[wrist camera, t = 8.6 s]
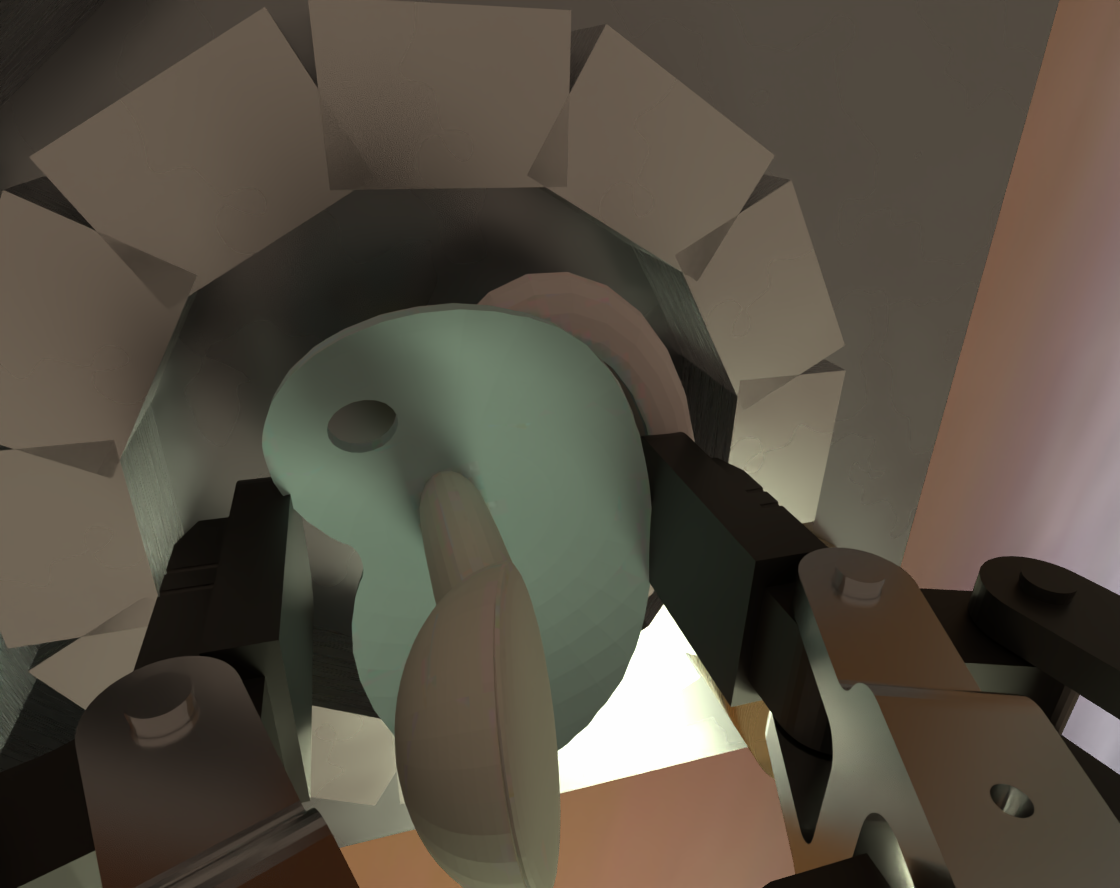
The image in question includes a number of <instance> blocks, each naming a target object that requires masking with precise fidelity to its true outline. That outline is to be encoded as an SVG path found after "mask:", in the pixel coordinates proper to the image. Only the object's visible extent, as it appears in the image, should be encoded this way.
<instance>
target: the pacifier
mask: <svg viewBox="0 0 1120 888" xmlns="http://www.w3.org/2000/svg"><path fill="white" fill-rule="evenodd" d="M597 356H598V357H599V358H600V359H602V360H603V361H604V363H605V364H606V365H607V367H608V368H609V369H610V371H611V372H612V373H613V375H614V376H615V377H616V379H617V380H618V381H619V383H620V385H621V388H622V390H623V392H624V394H625V396H626V397H625V396H624V394H623V392H622V391H621V389H620V387H619V386H618V384H617V383H616V381H615V379H614V378H613V376H612V374H611V373H610V371H609V369H608V368H607V367H606V366H605V365H604V364H603V363H602V362H601V361H600V359H599V358H598V357H597ZM626 399H627V400H626ZM362 400H377V401H380V402H383V403H386V404H387V405H388V406H390V407H391V408H392V409H393V410H394V412H395V413H396V417H395V420H394V423H393V425H392V426H391V428H390V429H389V431H387V432H386V433H385V434H384V435H382V436H381V437H379V438H377V439H375V440H373V441H370V442H365V443H349V442H345V441H342V440H340V439H338V438H337V437H335V436H334V435H333V434H332V433H331V431H330V430H329V429H328V422H329V420H330V419H331V417H332V416H333V414H334V413H336V412H337V411H338V410H339V409H341V408H342V407H344V406H346V405H348V404H350V403H352V402H357V401H362ZM627 401H628V402H627ZM628 403H629V405H630V407H631V410H632V412H633V415H634V418H633V415H632V413H631V410H630V407H629V405H628ZM634 420H635V421H634ZM676 432H684V433H685V434H687V435H688V436H689V437H690V438H691V439H692V440H693V441H694V442H695V440H694V435H693V430H692V425H691V420H690V414H689V409H688V404H687V399H686V394H685V391H684V388H683V386H682V384H681V381H680V379H679V376H678V374H677V372H676V369H675V367H674V364H673V362H672V359H671V357H670V355H669V352H668V350H667V348H666V347H665V345H664V344H663V343H662V341H661V340H660V338H659V337H658V336H657V334H656V333H655V331H654V330H653V329H652V327H651V326H650V324H649V323H648V322H647V320H646V319H645V318H644V316H643V315H642V313H641V312H640V311H638V310H637V309H636V308H635V307H633V306H632V305H631V304H630V303H628V302H627V301H626V300H625V299H623V298H622V297H621V296H620V295H618V294H617V293H616V292H614V291H613V290H612V289H611V288H609V287H608V286H607V285H604V284H601V283H598V282H595V281H593V280H590V279H587V278H584V277H581V276H578V275H575V274H572V273H569V272H556V273H537V274H526V275H524V276H522V277H520V278H518V279H516V280H513V281H511V282H509V283H507V284H505V285H503V286H501V287H499V288H497V289H495V290H493V291H490V292H488V294H487V295H486V296H485V297H484V298H483V299H482V300H481V301H480V302H479V303H478V304H477V305H476V304H460V303H449V304H438V305H428V306H418V307H413V308H408V309H403V310H399V311H394V312H390V313H385V314H381V315H378V316H376V317H373V318H370V319H368V320H365V321H363V322H360V323H358V324H355V325H353V326H350V327H348V328H345V329H343V330H341V331H340V332H338V333H336V334H334V335H333V336H331V337H329V338H327V339H325V340H324V341H322V342H321V343H319V344H318V345H316V346H314V347H313V348H312V349H311V350H310V351H309V352H308V353H307V354H306V355H305V356H304V357H303V358H302V359H301V360H299V361H298V362H297V363H296V364H295V365H294V366H293V367H292V368H291V369H290V370H289V372H288V373H287V375H286V376H285V378H284V379H283V381H282V382H281V384H280V386H279V387H278V389H277V391H276V393H275V394H274V396H273V398H272V401H271V405H270V408H269V411H268V414H267V417H266V421H265V425H264V429H263V435H262V448H263V454H264V458H265V461H266V464H267V467H268V470H269V472H270V475H271V478H272V480H273V483H274V484H275V485H276V487H277V488H278V490H279V491H280V492H281V494H282V495H283V496H285V495H289V494H291V499H292V504H293V508H294V509H295V510H296V511H297V512H298V513H299V514H300V515H301V516H302V517H303V518H304V519H305V520H306V521H307V522H309V523H310V524H312V525H313V526H315V527H316V528H318V529H319V530H321V531H322V532H324V533H325V534H327V535H328V536H329V537H331V538H333V539H335V540H337V541H339V542H341V543H343V544H348V545H350V546H352V547H353V548H354V549H355V550H356V551H357V553H358V554H359V556H360V558H361V561H362V564H363V572H362V575H361V578H360V581H359V584H358V588H357V592H356V596H355V604H354V612H353V619H352V638H353V654H354V658H355V662H356V666H357V670H358V674H359V678H360V681H361V684H362V686H363V688H364V690H365V692H366V694H367V696H368V698H369V700H370V703H371V705H372V707H373V709H374V711H375V712H376V713H377V715H378V716H379V717H380V718H381V720H382V721H383V722H384V723H385V725H386V726H387V727H388V728H389V730H390V731H391V732H392V733H393V735H395V756H396V765H397V772H398V777H399V782H400V786H401V790H402V794H403V798H404V802H405V804H406V807H407V810H408V812H409V815H410V818H411V820H412V823H413V825H414V827H415V829H416V831H417V833H418V835H419V837H420V838H421V840H422V842H423V844H424V845H425V847H426V848H427V850H428V852H429V853H430V855H431V856H432V857H433V858H434V860H435V861H436V862H437V863H438V865H439V866H440V867H441V868H442V869H443V870H444V871H445V872H446V873H447V874H448V875H449V876H450V877H451V878H453V879H454V880H455V881H456V882H457V883H458V884H460V885H461V886H462V887H463V888H553V886H554V882H555V878H556V873H557V864H558V855H559V844H560V782H559V764H558V750H560V749H561V748H563V747H564V746H566V745H567V744H568V743H569V742H570V741H571V740H572V739H573V738H574V737H575V736H577V735H578V734H579V733H580V732H581V731H582V730H584V729H585V728H586V727H587V726H588V725H589V724H590V723H591V721H592V720H593V718H594V717H595V716H596V714H597V713H598V712H599V710H600V709H601V708H602V707H603V706H604V705H605V704H606V703H607V702H608V700H609V699H610V697H611V696H612V694H613V693H614V691H615V690H616V689H617V687H618V686H619V684H620V683H621V682H622V680H623V678H624V676H625V673H626V671H627V668H628V665H629V663H630V660H631V658H632V656H633V654H634V652H635V650H636V647H637V644H638V640H639V637H640V633H641V630H642V626H643V622H644V617H645V612H646V606H647V600H648V597H649V596H650V595H651V594H652V593H653V592H654V589H653V587H652V586H651V584H650V583H649V543H650V522H651V509H652V506H651V496H650V486H649V479H648V473H647V467H646V461H645V457H644V452H643V448H642V443H641V438H640V436H646V435H659V434H669V433H676Z"/></svg>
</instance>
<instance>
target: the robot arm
mask: <svg viewBox="0 0 1120 888" xmlns="http://www.w3.org/2000/svg"><path fill="white" fill-rule="evenodd" d="M640 438H641V443H642V448H643V452H644V457H645V461H646V467H647V473H648V479H649V486H650V496H651V506H652V509H651V522H650V543H649V583H650V584H651V586H652V587H653V589H654V590H655V592H656V593H657V595H658V597H659V598H660V600H661V601H662V603H663V604H664V606H665V607H666V609H667V610H668V612H669V613H670V615H671V616H672V618H673V619H674V621H675V623H676V624H677V626H678V627H679V629H680V630H681V632H682V633H683V635H684V636H685V638H686V639H687V641H688V642H689V644H690V645H691V647H692V648H693V650H694V652H695V653H696V655H697V656H698V658H699V659H700V661H701V662H702V664H703V665H704V667H705V668H706V670H707V671H708V673H709V674H710V676H711V678H712V679H713V681H714V682H715V684H716V685H717V687H718V688H719V690H720V691H721V693H722V694H723V696H724V697H725V699H726V700H727V702H728V704H729V705H730V707H734V706H739V705H743V704H748V703H752V702H757V701H761V700H763V702H764V703H765V704H766V706H767V707H768V709H769V714H768V719H767V724H766V731H765V735H766V742H767V746H768V751H769V755H770V760H771V764H772V769H773V773H774V778H775V782H776V786H777V791H778V795H779V800H780V804H781V809H782V813H783V818H784V822H785V826H786V831H787V835H788V840H789V844H790V849H791V853H792V858H793V863H794V869H795V875H792V876H788V877H785V878H782V879H778V880H775V881H772V882H770V883H768V884H767V885H765V886H764V887H763V888H1120V775H1119V774H1118V773H1116V772H1115V771H1113V770H1112V769H1110V768H1109V767H1107V766H1106V765H1104V764H1103V763H1102V762H1100V761H1099V760H1097V759H1096V758H1094V757H1093V756H1091V755H1090V754H1088V753H1087V752H1085V751H1084V750H1083V749H1081V748H1080V747H1078V746H1077V745H1075V744H1074V743H1072V742H1071V741H1069V740H1068V739H1066V738H1065V737H1064V736H1062V732H1063V730H1064V728H1065V726H1066V724H1067V721H1068V719H1069V717H1070V715H1071V713H1072V710H1073V708H1074V706H1075V704H1076V702H1077V699H1078V697H1079V695H1082V696H1083V697H1085V698H1086V699H1088V700H1089V701H1091V702H1093V703H1094V704H1096V705H1097V706H1099V707H1101V708H1102V709H1104V710H1105V711H1107V712H1109V713H1110V714H1112V715H1113V716H1115V717H1116V718H1118V719H1120V596H1119V595H1118V594H1116V593H1114V592H1112V591H1110V590H1108V589H1106V588H1104V587H1102V586H1100V585H1098V584H1096V583H1094V582H1092V581H1090V580H1088V579H1086V578H1084V577H1082V576H1080V575H1078V574H1076V573H1074V572H1072V571H1070V570H1067V569H1065V568H1062V567H1060V566H1057V565H1055V564H1051V563H1048V562H1045V561H1041V560H1036V559H1032V558H1025V557H1015V556H1007V557H998V558H994V559H991V560H988V561H987V562H985V563H984V564H983V565H982V566H981V568H980V571H979V574H978V577H977V580H976V583H975V586H974V589H973V591H957V590H939V589H920V588H919V587H918V585H917V584H916V582H915V581H914V579H913V578H912V577H911V576H910V575H909V574H908V573H907V572H906V571H904V570H903V569H902V568H900V567H899V566H898V565H896V564H894V563H893V562H891V561H889V560H887V559H885V558H883V557H880V556H878V555H875V554H872V553H869V552H865V551H862V550H857V549H851V548H839V547H832V548H828V547H827V546H826V545H825V544H824V543H823V542H822V541H821V540H820V539H818V538H817V537H816V536H815V535H814V534H813V533H812V532H811V531H810V530H809V529H808V528H806V527H805V526H804V525H803V524H802V523H801V522H800V521H799V520H798V519H797V518H796V517H794V516H793V515H792V514H791V513H790V512H789V511H788V510H787V509H786V508H785V507H783V506H779V504H778V501H777V500H776V499H775V498H774V497H773V496H771V495H770V494H769V493H768V492H767V491H763V487H762V486H761V485H759V484H758V483H757V482H756V481H755V480H754V479H753V478H752V477H751V476H750V475H749V474H747V473H746V472H745V471H744V470H742V469H740V468H738V467H736V466H734V465H731V464H729V463H727V462H725V461H723V460H721V459H719V458H717V457H715V458H711V457H710V456H709V455H707V454H706V453H705V452H704V451H703V450H702V449H701V448H700V447H699V446H698V445H697V444H696V443H695V442H694V441H693V440H692V439H691V438H690V437H689V436H688V435H687V434H685V433H684V432H676V433H669V434H659V435H646V436H640ZM166 572H167V575H164V578H163V581H162V584H161V587H160V590H159V592H160V596H158V597H157V600H156V603H155V606H154V609H153V612H152V615H151V618H150V621H149V624H148V627H147V630H146V633H145V637H144V640H143V643H142V646H141V649H140V652H139V655H138V658H137V661H136V664H135V667H134V670H133V672H131V673H129V674H127V675H125V676H124V677H122V678H120V679H119V680H117V681H116V682H114V683H113V684H111V685H110V686H108V687H107V688H106V689H105V690H104V691H102V692H101V693H100V694H99V695H98V696H97V697H96V698H95V699H94V700H93V701H92V702H91V703H90V704H89V706H88V707H87V708H86V710H85V711H84V713H83V714H82V716H81V718H80V720H79V722H78V724H77V728H76V732H75V739H73V740H71V741H70V742H68V743H66V744H64V745H62V746H60V747H59V748H57V749H55V750H52V751H50V752H48V753H46V754H44V755H41V756H39V757H37V758H34V759H32V760H29V761H27V762H24V763H22V764H19V765H17V766H14V767H12V768H9V769H7V770H5V771H2V772H0V888H359V886H358V884H357V882H356V880H355V878H354V876H353V874H352V872H351V870H350V868H349V866H348V864H347V862H346V860H345V858H344V856H343V854H342V852H341V850H340V848H339V846H338V844H337V842H336V840H335V838H334V836H333V834H332V833H331V831H330V829H329V827H328V825H327V823H326V822H325V820H324V818H323V817H322V815H321V814H320V813H319V811H318V810H317V809H316V808H311V809H310V810H308V811H306V810H305V809H304V807H303V805H302V803H303V802H308V801H310V792H311V734H312V676H313V617H314V605H313V589H312V579H311V570H310V564H309V557H308V551H307V545H306V539H305V533H304V527H303V520H302V516H301V515H300V514H299V513H298V512H297V511H296V510H295V509H294V508H293V504H292V499H291V494H289V495H285V496H283V495H282V494H281V492H280V491H279V490H278V488H277V487H276V485H275V484H274V483H273V480H272V478H271V477H265V478H256V479H247V480H239V481H237V483H236V486H235V491H234V495H233V500H232V505H231V509H230V514H229V517H225V518H217V519H209V520H201V521H198V522H197V523H196V524H195V525H194V526H193V527H192V528H191V529H190V530H189V531H188V532H187V533H186V534H184V535H183V536H182V537H181V538H180V539H179V540H178V541H177V542H176V543H175V544H174V547H173V550H172V553H171V556H170V559H169V562H168V566H167V569H166Z"/></svg>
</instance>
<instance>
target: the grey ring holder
mask: <svg viewBox="0 0 1120 888" xmlns="http://www.w3.org/2000/svg"><path fill="white" fill-rule="evenodd" d="M1058 3H1059V0H0V772H2V771H5V770H7V769H9V768H12V767H14V766H17V765H19V764H22V763H24V762H27V761H29V760H32V759H34V758H37V757H39V756H41V755H44V754H46V753H48V752H50V751H52V750H55V749H57V748H59V747H60V746H62V745H64V744H66V743H68V742H70V741H71V740H73V739H75V732H76V728H77V724H78V722H79V720H80V718H81V716H82V714H83V713H84V711H85V710H86V708H87V707H88V706H89V704H90V703H91V702H92V701H93V700H94V699H95V698H96V697H97V696H98V695H99V694H100V693H101V692H102V691H104V690H105V689H106V688H107V687H108V686H110V685H111V684H113V683H114V682H116V681H117V680H119V679H120V678H122V677H124V676H125V675H127V674H129V673H131V672H133V670H134V667H135V664H136V661H137V658H138V655H139V652H140V649H141V646H142V643H143V640H144V637H145V633H146V630H147V627H148V624H149V621H150V618H151V615H152V612H153V609H154V606H155V603H156V600H157V597H158V596H160V592H159V590H160V587H161V584H162V581H163V578H164V575H167V572H166V569H167V566H168V562H169V559H170V556H171V553H172V550H173V547H174V544H175V543H176V542H177V541H178V540H179V539H180V538H181V537H182V536H183V535H184V534H186V533H187V532H188V531H189V530H190V529H191V528H192V527H193V526H194V525H195V524H196V523H197V522H198V521H201V520H209V519H217V518H225V517H229V514H230V509H231V505H232V500H233V495H234V491H235V486H236V483H237V481H239V480H247V479H256V478H265V477H271V475H270V472H269V470H268V467H267V464H266V461H265V458H264V454H263V448H262V435H263V429H264V425H265V421H266V417H267V414H268V411H269V408H270V405H271V401H272V398H273V396H274V394H275V393H276V391H277V389H278V387H279V386H280V384H281V382H282V381H283V379H284V378H285V376H286V375H287V373H288V372H289V370H290V369H291V368H292V367H293V366H294V365H295V364H296V363H297V362H298V361H299V360H301V359H302V358H303V357H304V356H305V355H306V354H307V353H308V352H309V351H310V350H311V349H312V348H313V347H314V346H316V345H318V344H319V343H321V342H322V341H324V340H325V339H327V338H329V337H331V336H333V335H334V334H336V333H338V332H340V331H341V330H343V329H345V328H348V327H350V326H353V325H355V324H358V323H360V322H363V321H365V320H368V319H370V318H373V317H376V316H378V315H381V314H385V313H390V312H394V311H399V310H403V309H408V308H413V307H418V306H428V305H438V304H449V303H460V304H476V305H477V304H478V303H479V302H480V301H481V300H482V299H483V298H484V297H485V296H486V295H487V294H488V292H490V291H493V290H495V289H497V288H499V287H501V286H503V285H505V284H507V283H509V282H511V281H513V280H516V279H518V278H520V277H522V276H524V275H526V274H537V273H556V272H569V273H572V274H575V275H578V276H581V277H584V278H587V279H590V280H593V281H595V282H598V283H601V284H604V285H607V286H608V287H609V288H611V289H612V290H613V291H614V292H616V293H617V294H618V295H620V296H621V297H622V298H623V299H625V300H626V301H627V302H628V303H630V304H631V305H632V306H633V307H635V308H636V309H637V310H638V311H640V312H641V313H642V315H643V316H644V318H645V319H646V320H647V322H648V323H649V324H650V326H651V327H652V329H653V330H654V331H655V333H656V334H657V336H658V337H659V338H660V340H661V341H662V343H663V344H664V345H665V347H666V348H667V350H668V352H669V355H670V357H671V359H672V362H673V364H674V367H675V369H676V372H677V374H678V376H679V379H680V381H681V384H682V386H683V388H684V391H685V394H686V399H687V404H688V409H689V414H690V420H691V425H692V430H693V435H694V440H695V443H696V444H697V445H698V446H699V447H700V448H701V449H702V450H703V451H704V452H705V453H706V454H707V455H709V456H710V457H711V458H715V457H717V458H719V459H721V460H723V461H725V462H727V463H729V464H731V465H734V466H736V467H738V468H740V469H742V470H744V471H745V472H746V473H747V474H749V475H750V476H751V477H752V478H753V479H754V480H755V481H756V482H757V483H758V484H759V485H761V486H762V487H763V491H767V492H768V493H769V494H770V495H771V496H773V497H774V498H775V499H776V500H777V501H778V504H779V506H783V507H785V508H786V509H787V510H788V511H789V512H790V513H791V514H792V515H793V516H794V517H796V518H797V519H798V520H799V521H800V522H801V523H802V524H803V525H804V526H805V527H806V528H808V529H809V530H810V531H811V532H812V533H813V534H814V535H815V536H816V537H817V538H818V539H820V540H821V541H822V542H823V543H824V544H825V545H826V546H827V547H828V548H832V547H839V548H851V549H857V550H862V551H865V552H869V553H872V554H875V555H878V556H880V557H883V558H885V559H887V560H889V561H891V562H893V563H894V564H896V565H898V566H899V567H900V566H901V562H902V559H903V555H904V552H905V548H906V545H907V541H908V538H909V534H910V530H911V527H912V523H913V520H914V516H915V513H916V509H917V505H918V502H919V498H920V495H921V491H922V488H923V484H924V481H925V477H926V473H927V470H928V466H929V463H930V459H931V456H932V452H933V448H934V445H935V441H936V438H937V434H938V431H939V427H940V423H941V420H942V416H943V413H944V409H945V406H946V402H947V399H948V395H949V391H950V388H951V384H952V381H953V377H954V374H955V370H956V366H957V363H958V359H959V356H960V352H961V349H962V345H963V342H964V338H965V334H966V331H967V327H968V324H969V320H970V317H971V313H972V309H973V306H974V302H975V299H976V295H977V292H978V288H979V285H980V281H981V277H982V274H983V270H984V267H985V263H986V260H987V256H988V252H989V249H990V245H991V242H992V238H993V235H994V231H995V228H996V224H997V220H998V217H999V213H1000V210H1001V206H1002V203H1003V199H1004V195H1005V192H1006V188H1007V185H1008V181H1009V178H1010V174H1011V171H1012V167H1013V163H1014V160H1015V156H1016V153H1017V149H1018V146H1019V142H1020V138H1021V135H1022V131H1023V128H1024V124H1025V121H1026V117H1027V114H1028V110H1029V106H1030V103H1031V99H1032V96H1033V92H1034V89H1035V85H1036V81H1037V78H1038V74H1039V71H1040V67H1041V64H1042V60H1043V57H1044V53H1045V49H1046V46H1047V42H1048V39H1049V35H1050V32H1051V28H1052V24H1053V21H1054V17H1055V14H1056V10H1057V7H1058ZM597 357H598V356H597ZM598 358H599V357H598ZM599 359H600V358H599ZM600 361H601V362H602V363H603V364H604V365H605V366H606V367H607V365H606V364H605V363H604V361H603V360H602V359H600ZM607 368H608V367H607ZM608 369H609V368H608ZM609 371H610V369H609ZM610 373H611V374H612V376H613V378H614V379H615V381H616V383H617V384H618V386H619V387H620V389H621V391H622V392H623V390H622V388H621V385H620V383H619V381H618V380H617V379H616V377H615V376H614V375H613V373H612V372H611V371H610ZM623 394H624V392H623ZM624 396H625V394H624ZM625 397H626V396H625ZM626 400H627V399H626ZM627 402H628V401H627ZM628 405H629V403H628ZM629 407H630V405H629ZM630 410H631V407H630ZM631 413H632V415H633V412H632V410H631ZM395 417H396V413H395V412H394V410H393V409H392V408H391V407H390V406H388V405H387V404H386V403H383V402H380V401H377V400H362V401H357V402H352V403H350V404H348V405H346V406H344V407H342V408H341V409H339V410H338V411H337V412H336V413H334V414H333V416H332V417H331V419H330V420H329V422H328V429H329V430H330V431H331V433H332V434H333V435H334V436H335V437H337V438H338V439H340V440H342V441H345V442H349V443H365V442H370V441H373V440H375V439H377V438H379V437H381V436H382V435H384V434H385V433H386V432H387V431H389V429H390V428H391V426H392V425H393V423H394V420H395ZM633 418H634V415H633ZM634 421H635V420H634ZM302 520H303V527H304V533H305V539H306V545H307V551H308V557H309V564H310V570H311V579H312V589H313V605H314V617H313V676H312V734H311V792H310V801H308V802H303V803H302V805H303V807H304V809H305V810H306V811H308V810H310V809H311V808H316V809H317V810H318V811H319V813H320V814H321V815H322V817H323V818H324V820H325V822H326V823H327V825H328V827H329V829H330V831H331V833H332V834H333V836H334V838H335V840H336V842H337V844H338V846H339V848H341V847H345V846H349V845H353V844H357V843H361V842H365V841H369V840H373V839H377V838H381V837H385V836H389V835H393V834H397V833H401V832H405V831H410V830H414V829H415V827H414V825H413V823H412V820H411V818H410V815H409V812H408V810H407V807H406V804H405V802H404V798H403V794H402V790H401V786H400V782H399V777H398V772H397V765H396V756H395V735H393V733H392V732H391V731H390V730H389V728H388V727H387V726H386V725H385V723H384V722H383V721H382V720H381V718H380V717H379V716H378V715H377V713H376V712H375V711H374V709H373V707H372V705H371V703H370V700H369V698H368V696H367V694H366V692H365V690H364V688H363V686H362V684H361V681H360V678H359V674H358V670H357V666H356V662H355V658H354V654H353V638H352V619H353V612H354V604H355V596H356V592H357V588H358V584H359V581H360V578H361V575H362V572H363V564H362V561H361V558H360V556H359V554H358V553H357V551H356V550H355V549H354V548H353V547H352V546H350V545H348V544H343V543H341V542H339V541H337V540H335V539H333V538H331V537H329V536H328V535H327V534H325V533H324V532H322V531H321V530H319V529H318V528H316V527H315V526H313V525H312V524H310V523H309V522H307V521H306V520H305V519H304V518H303V517H302ZM768 714H769V709H768V707H767V706H766V704H765V703H764V702H763V700H761V701H757V702H752V703H748V704H743V705H739V706H734V707H730V705H729V704H728V702H727V700H726V699H725V697H724V696H723V694H722V693H721V691H720V690H719V688H718V687H717V685H716V684H715V682H714V681H713V679H712V678H711V676H710V674H709V673H708V671H707V670H706V668H705V667H704V665H703V664H702V662H701V661H700V659H699V658H698V656H697V655H696V653H695V652H694V650H693V648H692V647H691V645H690V644H689V642H688V641H687V639H686V638H685V636H684V635H683V633H682V632H681V630H680V629H679V627H678V626H677V624H676V623H675V621H674V619H673V618H672V616H671V615H670V613H669V612H668V610H667V609H666V607H665V606H664V604H663V603H662V601H661V600H660V598H659V597H658V595H657V593H656V592H655V590H654V592H653V593H652V594H651V595H650V596H649V597H648V600H647V606H646V612H645V617H644V622H643V626H642V630H641V633H640V637H639V640H638V644H637V647H636V650H635V652H634V654H633V656H632V658H631V660H630V663H629V665H628V668H627V671H626V673H625V676H624V678H623V680H622V682H621V683H620V684H619V686H618V687H617V689H616V690H615V691H614V693H613V694H612V696H611V697H610V699H609V700H608V702H607V703H606V704H605V705H604V706H603V707H602V708H601V709H600V710H599V712H598V713H597V714H596V716H595V717H594V718H593V720H592V721H591V723H590V724H589V725H588V726H587V727H586V728H585V729H584V730H582V731H581V732H580V733H579V734H578V735H577V736H575V737H574V738H573V739H572V740H571V741H570V742H569V743H568V744H567V745H566V746H564V747H563V748H561V749H560V750H558V764H559V782H560V793H563V792H567V791H571V790H576V789H580V788H584V787H588V786H592V785H596V784H600V783H604V782H608V781H612V780H616V779H620V778H624V777H628V776H632V775H636V774H640V773H644V772H648V771H652V770H656V769H661V768H665V767H669V766H673V765H677V764H681V763H685V762H689V761H693V760H697V759H701V758H705V757H709V756H713V755H717V754H721V753H725V752H729V751H733V750H737V749H742V748H746V747H748V748H749V749H750V751H751V753H752V754H753V756H754V757H755V759H756V760H757V762H758V763H759V765H760V766H761V768H762V769H763V770H764V771H765V772H766V773H767V774H768V775H769V776H771V777H772V778H774V773H773V769H772V764H771V760H770V755H769V751H768V746H767V742H766V735H765V731H766V724H767V719H768ZM774 779H775V778H774Z"/></svg>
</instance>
